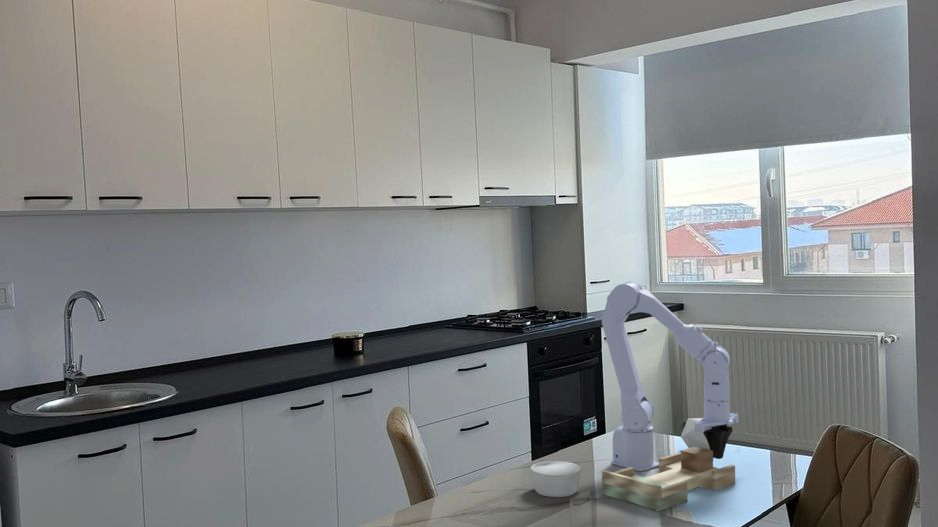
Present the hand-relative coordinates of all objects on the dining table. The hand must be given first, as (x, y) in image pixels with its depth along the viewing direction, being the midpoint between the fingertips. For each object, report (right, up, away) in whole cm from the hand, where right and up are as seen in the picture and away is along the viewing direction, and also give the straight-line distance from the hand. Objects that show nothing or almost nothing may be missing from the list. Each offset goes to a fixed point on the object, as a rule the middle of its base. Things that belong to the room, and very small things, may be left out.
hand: (717, 457), depth 191 cm
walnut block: (-6, -1, -5) cm, 8 cm away
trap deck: (-14, -4, -11) cm, 18 cm away
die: (+1, -3, +19) cm, 20 cm away
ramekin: (-39, -5, -11) cm, 40 cm away
